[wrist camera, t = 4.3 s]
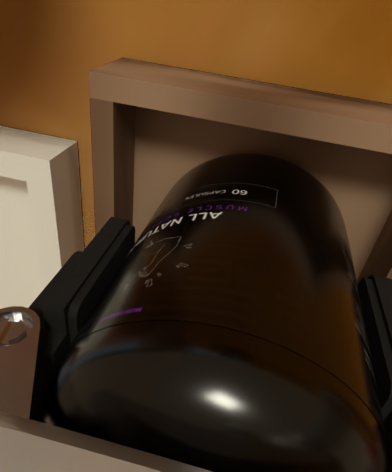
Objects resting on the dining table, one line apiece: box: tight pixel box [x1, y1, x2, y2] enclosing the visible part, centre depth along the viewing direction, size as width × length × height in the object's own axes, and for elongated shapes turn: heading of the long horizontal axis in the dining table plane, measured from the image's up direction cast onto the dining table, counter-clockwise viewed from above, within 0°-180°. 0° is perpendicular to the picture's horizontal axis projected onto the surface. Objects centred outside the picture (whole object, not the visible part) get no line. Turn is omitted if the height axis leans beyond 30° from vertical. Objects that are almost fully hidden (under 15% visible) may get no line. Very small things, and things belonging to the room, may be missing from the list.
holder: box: [88, 58, 392, 286], centre depth 13 cm, size 10×10×2 cm
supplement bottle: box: [41, 153, 391, 472], centre depth 9 cm, size 7×7×12 cm
